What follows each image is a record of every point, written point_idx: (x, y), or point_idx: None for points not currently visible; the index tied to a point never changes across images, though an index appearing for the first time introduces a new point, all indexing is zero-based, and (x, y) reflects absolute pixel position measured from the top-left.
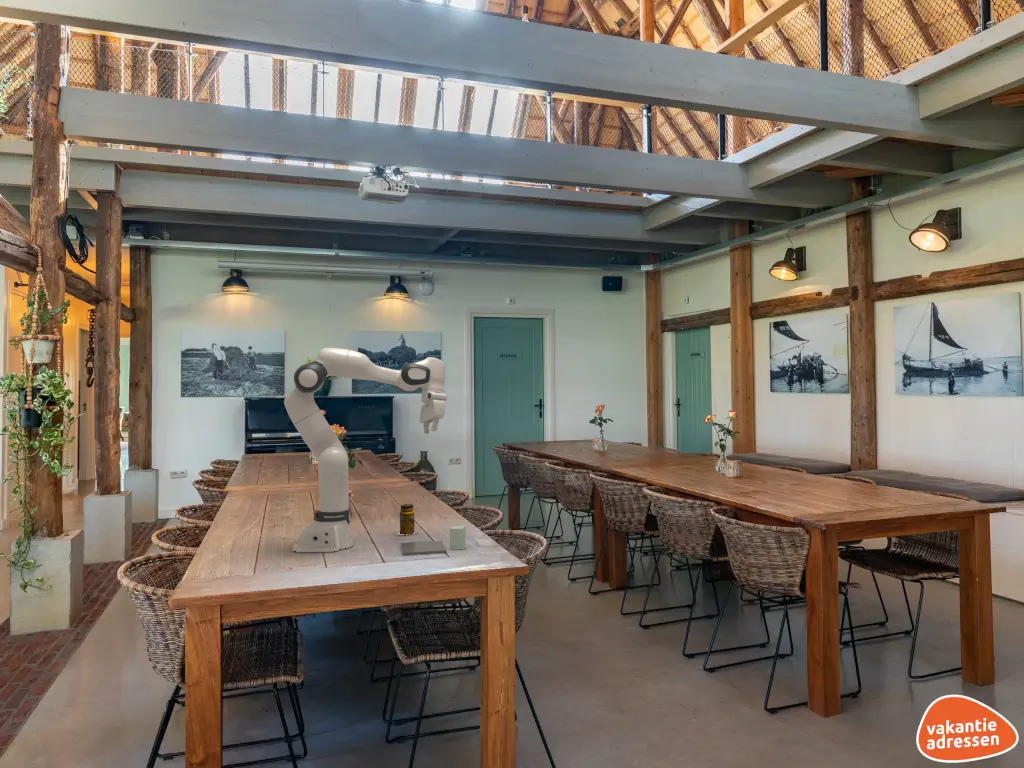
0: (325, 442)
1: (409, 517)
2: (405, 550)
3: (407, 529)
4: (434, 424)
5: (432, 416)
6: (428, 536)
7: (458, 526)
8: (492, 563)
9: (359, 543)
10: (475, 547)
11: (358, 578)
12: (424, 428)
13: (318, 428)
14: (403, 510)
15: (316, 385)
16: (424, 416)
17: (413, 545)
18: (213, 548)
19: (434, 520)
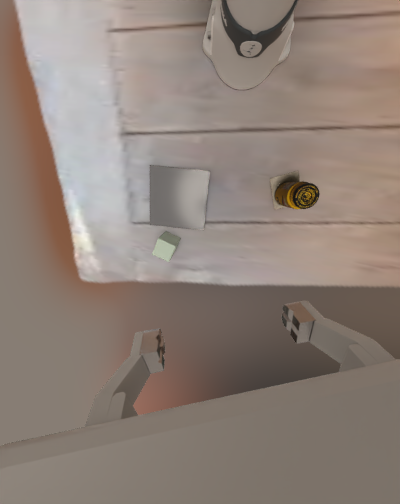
0: None
1: (284, 197)
2: (162, 171)
3: (277, 193)
4: (119, 376)
5: (49, 451)
6: (251, 221)
7: (169, 252)
8: (94, 259)
9: (250, 103)
10: None
11: (45, 85)
12: (319, 323)
13: None
14: (295, 187)
15: None
16: (381, 436)
17: (188, 187)
18: None
19: (357, 251)
